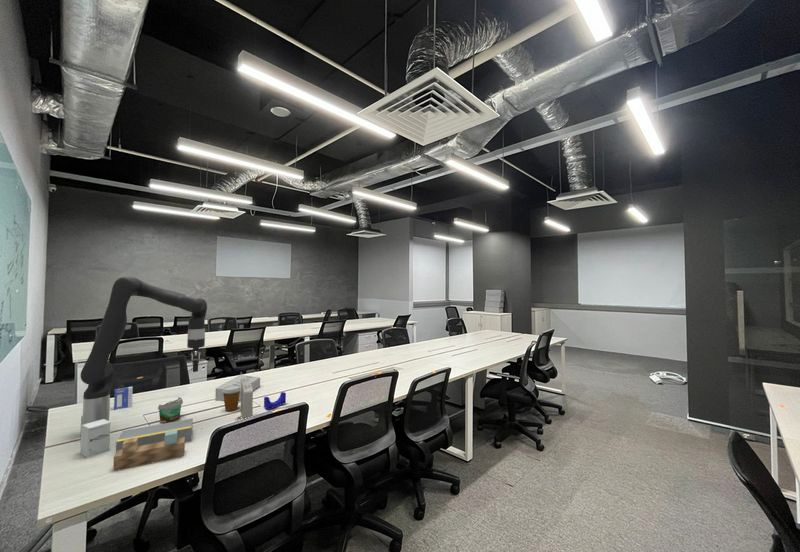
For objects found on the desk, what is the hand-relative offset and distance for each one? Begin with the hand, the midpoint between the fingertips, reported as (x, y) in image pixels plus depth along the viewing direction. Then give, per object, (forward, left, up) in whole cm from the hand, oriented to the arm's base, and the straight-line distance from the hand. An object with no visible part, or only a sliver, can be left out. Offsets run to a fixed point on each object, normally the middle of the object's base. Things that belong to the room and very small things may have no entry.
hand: (195, 369), depth 162 cm
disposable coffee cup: (+18, +15, -28) cm, 36 cm away
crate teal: (-7, -30, -22) cm, 38 cm away
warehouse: (+24, +44, -28) cm, 57 cm away
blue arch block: (+40, +7, -28) cm, 50 cm away
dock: (-13, -13, -28) cm, 34 cm away
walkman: (-35, +46, -28) cm, 64 cm away
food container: (-9, +12, -28) cm, 32 cm away
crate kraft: (-20, -30, -22) cm, 43 cm away
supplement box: (-35, -11, -28) cm, 46 cm away
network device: (+23, -10, -28) cm, 37 cm away
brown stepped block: (-14, -30, -28) cm, 44 cm away
